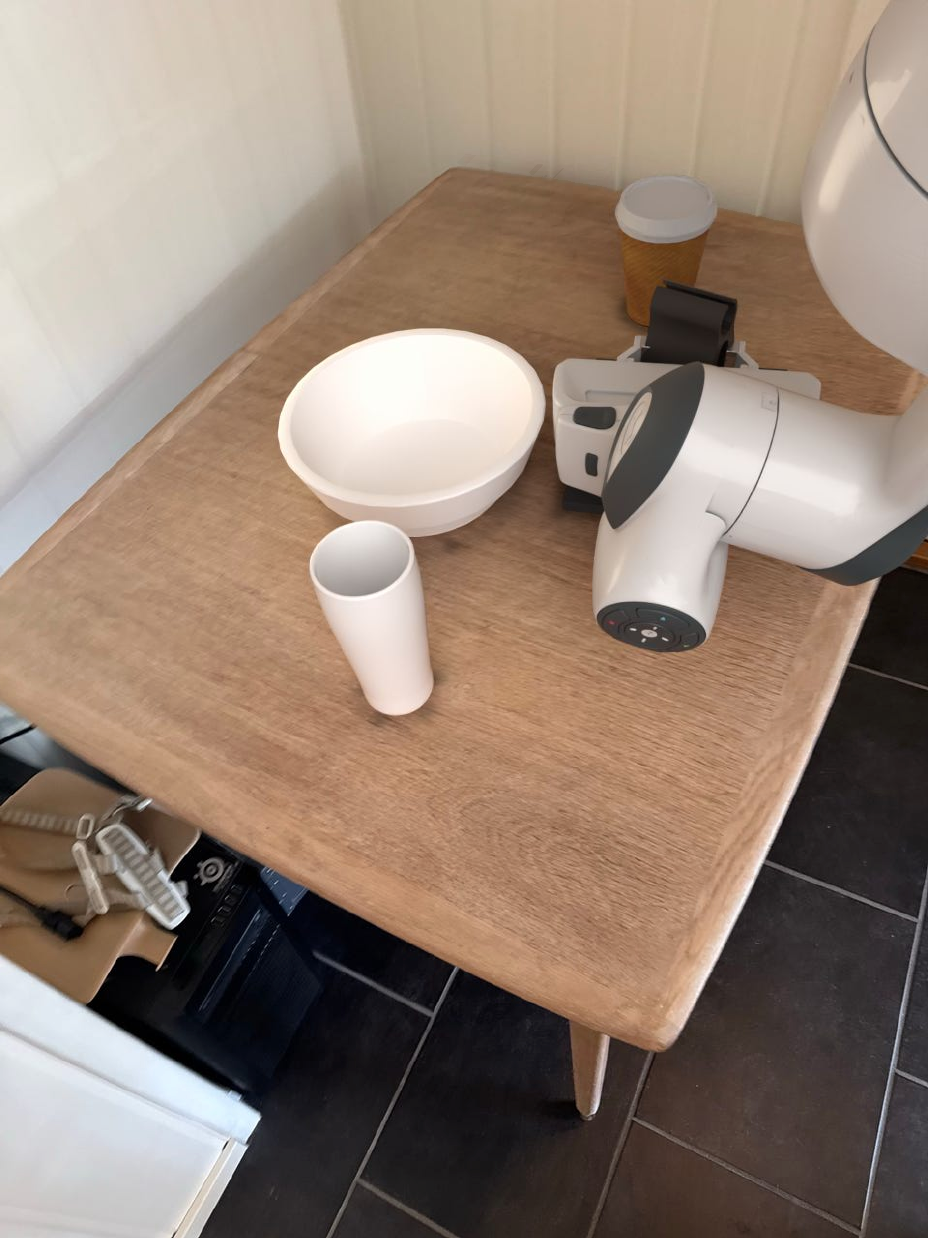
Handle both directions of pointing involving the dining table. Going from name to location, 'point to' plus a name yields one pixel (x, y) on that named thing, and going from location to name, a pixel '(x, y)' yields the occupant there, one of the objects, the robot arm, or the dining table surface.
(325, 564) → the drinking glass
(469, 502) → the bowl
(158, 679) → the dining table surface
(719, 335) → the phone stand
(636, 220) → the disposable coffee cup
